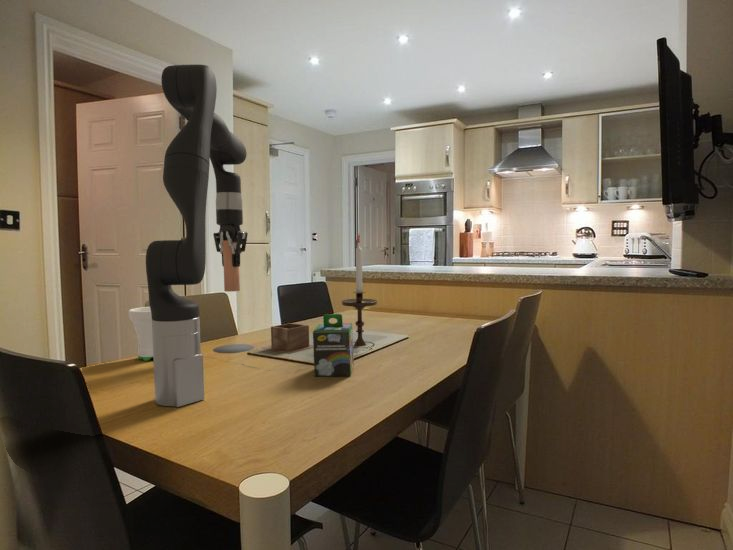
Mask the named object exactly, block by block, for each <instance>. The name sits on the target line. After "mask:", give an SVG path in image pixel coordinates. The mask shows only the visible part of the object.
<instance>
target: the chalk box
mask: <svg viewBox="0 0 733 550" xmlns="http://www.w3.org/2000/svg"><path fill="white" fill-rule="evenodd" d="M322 318H323V323H322V324H318V325H317V326H315V329H314V330H313V331H312V343H313V344H312V345H313V348H312V349H313V369H314V373H313V374H314V377H351V376H352V373H353V370H354V367H355V363H354V360H355V359H354V348H353V347H354V343H353V342H354V336H353V335H354V333H353V323H351V322H350V323H345V322H344V323H343V314H341V313H329V314H328V313H327V314H325V313H324V314H323V317H322ZM331 319H335V320H336V321H337V322H335V323H333V322H330V321H329V320H331Z"/></svg>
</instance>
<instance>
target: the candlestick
mask: <svg viewBox="0 0 733 550" xmlns="http://www.w3.org/2000/svg"><path fill="white" fill-rule="evenodd" d="M360 238H361V235H360V233H358V236H357V239H356V241H357V247H356V248H355V286H356V287H355V289H356V290H355V291H353V292H352V293H353V294H355V298H349V299H347V298H346V299H343V300H341V306H345V307H353V308H354V309H355V310H356V311H357V313H356V314H357V320H356V321H355V323H354V324H355V327H357V329H356V330H355V333H357V339H356V340H355V341H353V349H355V347H363V349H368V348H371V347H374V346H375V343H374V342H371V341H365V340H364V339H363V333H364V332H365V330H363V326H364V325H365V322H364V321H363V317H362V316H363V310H364V309H365V308H366V307H372V306H376V305H378V299H374V298H364V294H366V293H367V292H365V291H363V249H362V248H361V245H360V242H361V239H360ZM367 344H372V345H371V346H367ZM354 346H355V347H354ZM365 346H366V347H365Z"/></svg>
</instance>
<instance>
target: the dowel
mask: <svg viewBox="0 0 733 550" xmlns="http://www.w3.org/2000/svg"><path fill="white" fill-rule="evenodd" d="M233 243H237V242H233ZM235 249H236V246H235ZM232 254H233V253H232V250H231V247H230V246H229V243H228V240H226V241H223V263H224V267H223V285H224V286H223V289H224V292H239V291H240V289H241V288H240V286H241V285H240V266H239V267H233V266H232Z"/></svg>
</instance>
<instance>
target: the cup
mask: <svg viewBox="0 0 733 550" xmlns="http://www.w3.org/2000/svg"><path fill="white" fill-rule="evenodd" d="M128 319H129V320H130V321H131V323H132V325H133V329H134V330H135V333H136V339H137V346H138V348H137V358H138V360H143V361H145V362H148V361H151V359H152V358H153V340H152V316H151V309H150V306H141V307H136V308H130V309H129V310H128Z"/></svg>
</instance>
